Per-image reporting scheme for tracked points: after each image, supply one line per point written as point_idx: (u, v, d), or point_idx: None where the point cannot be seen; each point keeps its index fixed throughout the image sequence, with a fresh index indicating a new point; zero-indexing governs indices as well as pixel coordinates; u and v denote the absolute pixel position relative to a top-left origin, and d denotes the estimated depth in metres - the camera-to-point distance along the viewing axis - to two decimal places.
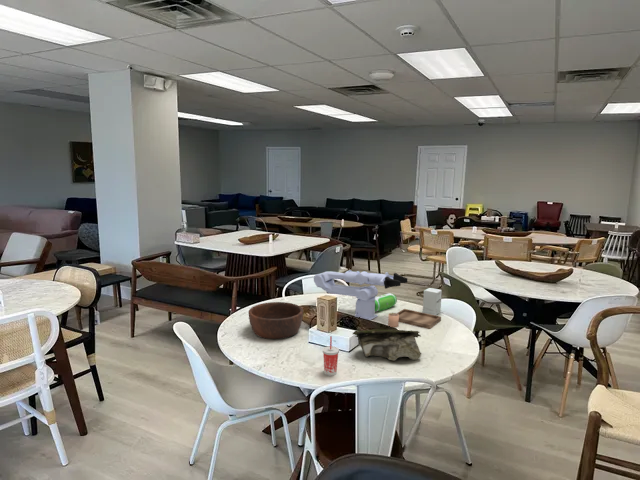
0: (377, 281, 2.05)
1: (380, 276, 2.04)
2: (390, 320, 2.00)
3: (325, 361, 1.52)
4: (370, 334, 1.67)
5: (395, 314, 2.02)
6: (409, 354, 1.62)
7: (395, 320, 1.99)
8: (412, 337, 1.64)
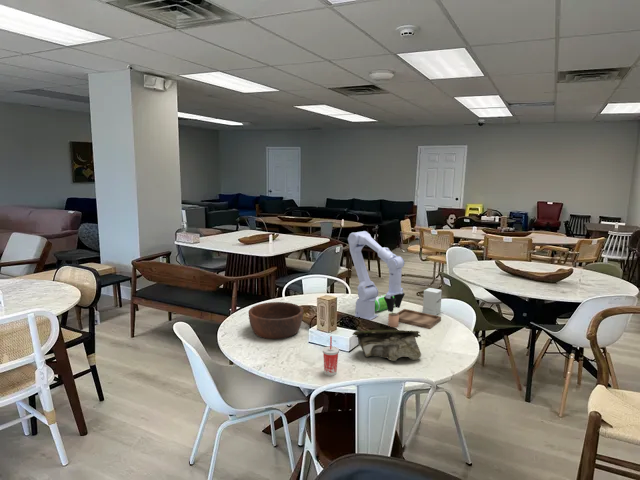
0: (391, 285, 1.97)
1: (397, 288, 1.96)
2: (390, 320, 2.00)
3: (325, 361, 1.52)
4: (370, 334, 1.66)
5: (395, 314, 2.02)
6: (409, 354, 1.62)
7: (395, 320, 1.99)
8: (412, 337, 1.63)
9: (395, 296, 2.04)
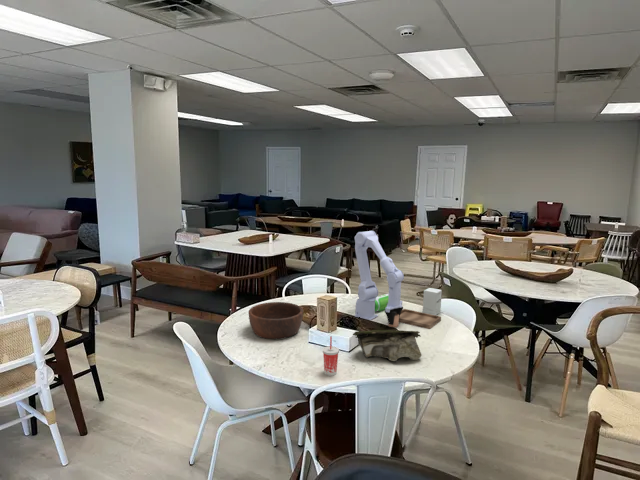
0: (391, 298, 1.98)
1: (396, 301, 1.97)
2: None
3: (325, 361, 1.52)
4: (370, 335, 1.66)
5: (395, 314, 2.01)
6: (410, 354, 1.62)
7: (395, 320, 1.99)
8: (412, 337, 1.63)
9: (393, 310, 2.04)
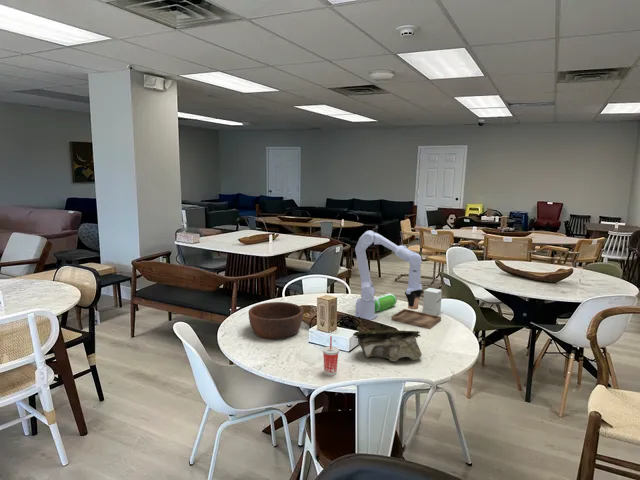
0: (411, 281, 2.03)
1: (416, 284, 2.02)
2: None
3: (325, 361, 1.52)
4: (371, 335, 1.66)
5: None
6: (410, 354, 1.61)
7: (415, 302, 2.04)
8: (413, 337, 1.63)
9: (413, 292, 2.09)
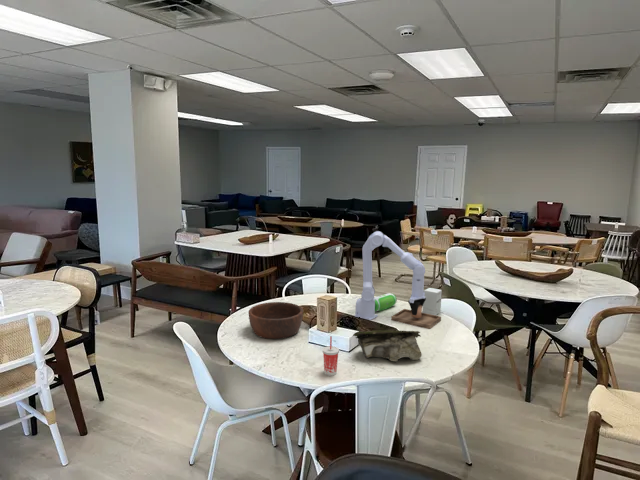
0: (414, 289, 2.05)
1: (420, 292, 2.04)
2: None
3: (325, 361, 1.52)
4: (371, 335, 1.65)
5: None
6: (410, 354, 1.61)
7: (419, 311, 2.06)
8: (413, 337, 1.63)
9: (416, 301, 2.11)
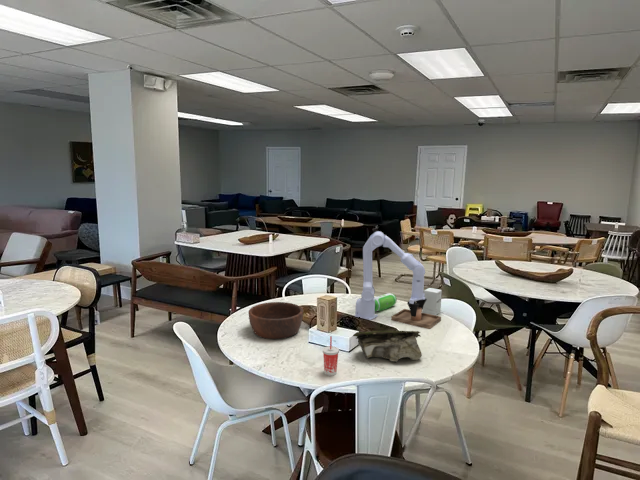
0: (414, 290, 2.05)
1: (420, 293, 2.04)
2: None
3: (325, 361, 1.52)
4: (371, 335, 1.65)
5: (418, 308, 2.09)
6: (411, 355, 1.61)
7: (418, 313, 2.07)
8: (413, 337, 1.63)
9: (417, 301, 2.12)
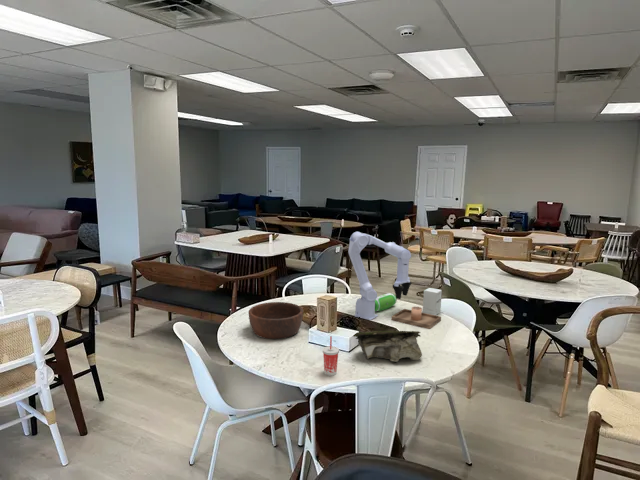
0: (399, 274, 2.13)
1: (404, 277, 2.12)
2: (413, 313, 2.07)
3: (325, 361, 1.52)
4: (371, 336, 1.65)
5: (418, 308, 2.09)
6: (411, 355, 1.61)
7: (418, 313, 2.06)
8: (413, 337, 1.63)
9: (402, 285, 2.19)
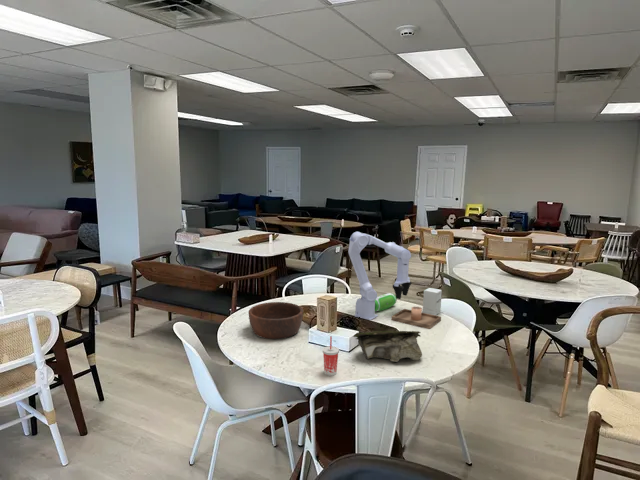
0: (399, 274, 2.13)
1: (404, 277, 2.12)
2: (413, 313, 2.07)
3: (325, 361, 1.52)
4: (371, 336, 1.65)
5: (418, 307, 2.09)
6: (411, 355, 1.61)
7: (418, 313, 2.07)
8: (414, 337, 1.63)
9: (402, 285, 2.19)
